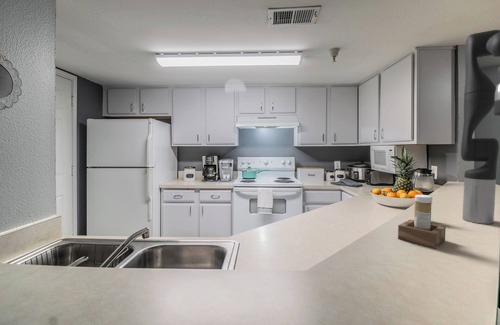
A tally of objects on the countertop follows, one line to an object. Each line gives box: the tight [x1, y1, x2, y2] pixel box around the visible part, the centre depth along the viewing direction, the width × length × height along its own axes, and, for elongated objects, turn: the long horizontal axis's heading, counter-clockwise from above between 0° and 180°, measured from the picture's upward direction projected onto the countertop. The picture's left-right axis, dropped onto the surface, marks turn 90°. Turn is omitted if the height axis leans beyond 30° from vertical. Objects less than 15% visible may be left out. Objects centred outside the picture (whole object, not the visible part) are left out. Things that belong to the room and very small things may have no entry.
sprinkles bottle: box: [413, 194, 433, 231], centre depth 78 cm, size 5×5×14 cm
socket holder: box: [397, 219, 446, 249], centre depth 79 cm, size 10×10×4 cm
